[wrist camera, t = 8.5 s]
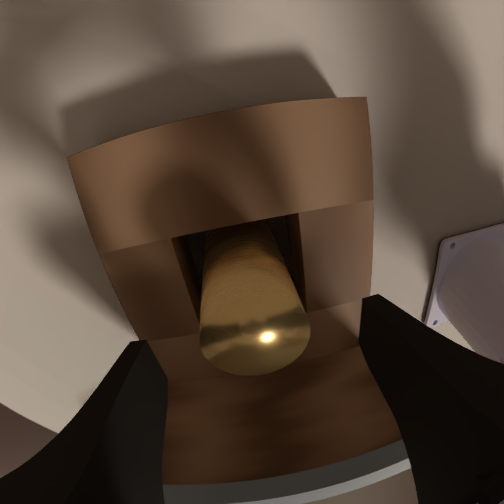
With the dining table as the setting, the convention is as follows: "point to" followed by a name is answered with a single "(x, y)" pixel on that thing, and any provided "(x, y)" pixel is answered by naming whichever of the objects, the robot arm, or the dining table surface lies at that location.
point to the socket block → (305, 281)
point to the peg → (249, 303)
